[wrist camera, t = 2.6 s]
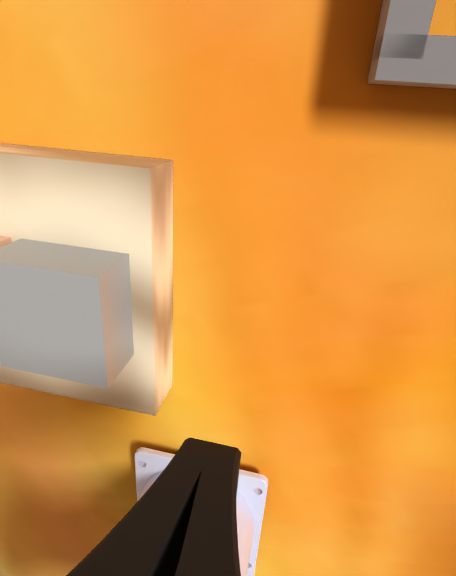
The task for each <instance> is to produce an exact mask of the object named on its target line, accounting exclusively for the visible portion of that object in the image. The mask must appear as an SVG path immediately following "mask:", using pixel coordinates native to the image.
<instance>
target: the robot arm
mask: <svg viewBox="0 0 456 576" xmlns="http://www.w3.org/2000/svg"><path fill="white" fill-rule="evenodd" d="M240 459H241V452H240V451H239V449H238V448H235V447H230V446H226V445H221V444H217V443H212V442H208V441H203V440H199V439H194V438H188V439H186V440H185V441H184V443H183V444H182V446H181V447H180V449H179V450H178V451H177V453H176V454H171V453H167V452H162V451H158V450H153V449H149V448H145V447H140V448H138V449H137V451H136V453H135V474H136V492H137V503H136V504H135V505H134V506H133V508H132V509H131V510H130V511H129V512H128V513H127V514H126V515H125V517H124V518H123V519H122V520H121V521H120V522H119V523H118V524H117V525H116V526H115V527H114V528H113V529H112V530H111V531H110V532H109V534H108V535H107V536H106V537H105V538H104V539H103V540H102V541H101V542H100V543H99V544H98V545H97V546H96V547H95V548H94V549H93V550H92V551H91V552H90V553H89V554H88V555H87V556H86V557H85V558H84V559H83V560H82V561H81V562H80V563H79V564H78V565H77V566H76V567H75V568H74V569H73V570H72V571H71V572H70V573H69V574H67V575H66V576H254V572H255V566H256V559H257V553H258V546H259V540H260V533H261V527H262V520H263V514H264V507H265V501H266V494H267V488H268V479H267V477H265V476H264V475H262V474H258V473H254V472H250V471H245V470H241V469H240ZM258 488H259V489H258Z"/></svg>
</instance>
